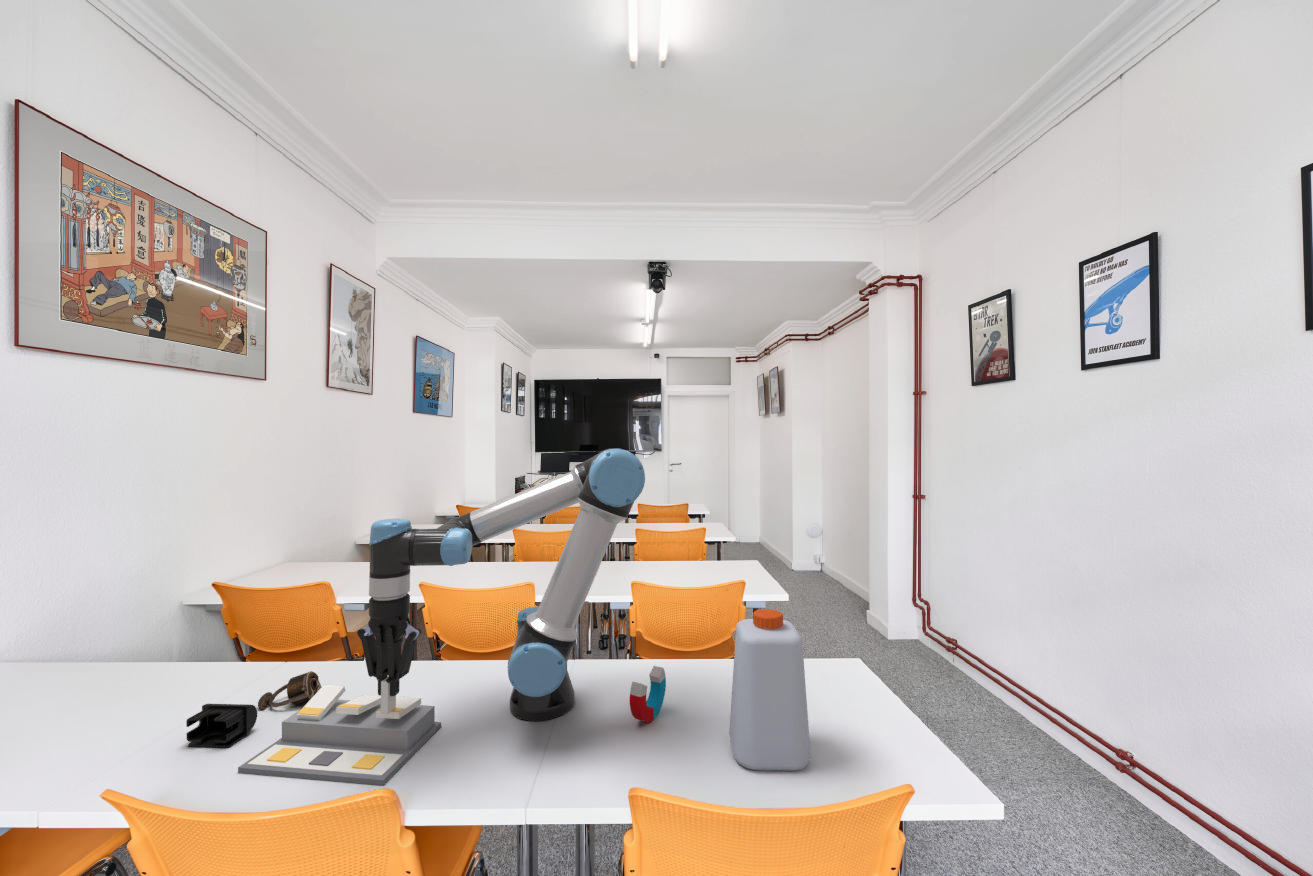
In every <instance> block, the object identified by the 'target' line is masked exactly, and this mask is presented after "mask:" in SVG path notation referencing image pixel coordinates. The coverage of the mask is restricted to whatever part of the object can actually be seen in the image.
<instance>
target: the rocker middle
mask: <svg viewBox="0 0 1313 876" xmlns="http://www.w3.org/2000/svg"><path fill="white" fill-rule="evenodd" d="M350 700H351V701H349V702H347V703H344V704H341V705H339V706H338V707H336V713H338V714H352V715H359V714H361V713H363V712H365V711H367V710H369V709H371V708H373V707H375V706H377V705H379V704H381V696H380V695H377V696H375V695H360V696H359V697H358V696H357V697H355V698H353V699H350Z"/></svg>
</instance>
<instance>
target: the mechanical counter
mask: <svg viewBox="0 0 1313 876" xmlns="http://www.w3.org/2000/svg"><path fill="white" fill-rule="evenodd" d="M321 688H322V685H321V683H320V680H319V675H318V674H317V673H316V672H314V671H312V670H311V671H308V672H304V673H302V674H298V675H296V676H293V677H291V678H290V679H289V680H288V682H287V684H285V685H283V686H281V687H280V688H278V689H277V690H276V691H274V692H273V693H272V692H271V691H268V692H265V693H264V694H263V695H261V697H260V698H259V699H258V701H257V708H258V709H259V710H264V709H265V710H266V708H268V707H269V706H271V707H272V708H278V707H279V708H280V707H282V706H286V705H289V704H292V705H294V706H295V705H299V704H303V703H306V702H309V701H310V700H311V698H312V697H313V696H314V695H315V694H316V693H317V692H318V691H319V690H320V689H321ZM285 690H286V695H287V698H288V699H285V700H282V701H279V702H274V701H275V699H276V697H277V696H278V695H279V694H280V693H282V692H283V691H285Z"/></svg>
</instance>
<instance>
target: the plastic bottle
mask: <svg viewBox="0 0 1313 876" xmlns="http://www.w3.org/2000/svg"><path fill="white" fill-rule="evenodd" d="M734 638H735V641H734V655H733V669H732V671H733V672H732V685H731V700H730V701H731V702H730V712H729V713H730V716H729V728H728V730H729V731H728V733H729V734H728V735H729V738H730V745H731V749H732V754H733V757H734V760H736V762H737V763H738V764H739V765H740V766H743V767H744V768H745V769H749V770H754V771H793V772H794V771H800V770H802V769H804V768H806V767H807V766H808V765H809V764H810V762H811V757H812V756H811V741H810V729H809V715H808V714H809V713H808V712H809V711H808V701H807V699H808V698H807V687H806V675H805V674H806V672H805V671H806V670H805V661H804V660H805V659H804V647H803V639H802V637H801V635H800V633H799V632H798V630H797V629H796V627H795V626H794V624H793V623H792V622H790V620H785V619H784V614H783V613H782V612H781V611H779V610H776V609H772V608H771V609H770V608H759V609H756V610H755V611H753V614H752V618H746V619H745V618H744V619H741V620H740V621H738V622H737V623H736V626H735V637H734Z"/></svg>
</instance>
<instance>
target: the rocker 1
mask: <svg viewBox="0 0 1313 876" xmlns="http://www.w3.org/2000/svg"><path fill="white" fill-rule="evenodd" d="M321 687H322V688H321V689H320V690H319V691H318V692H317V693H316V694H315V695H314V696H313V697H312V698H311V700H308V701H307V703H306V704H305V705H304V706H302V708H301V709H300V711H299V710H298V711H299V712H298V711H297V712H298V714H297V717H298V719H306V720H319V721H320V720H321V719H322V718H323V716H324V715H325V714H326V713H327V712H328V711H329V709H330V708H331V707H332V706H333V705H334V704H335V702H336V701H337V700H340V698H341V696H342V695H343V694H344V693H345V692H346V688H345V686H342V685H329V684H328V685H327V684H324V685H321Z"/></svg>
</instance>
